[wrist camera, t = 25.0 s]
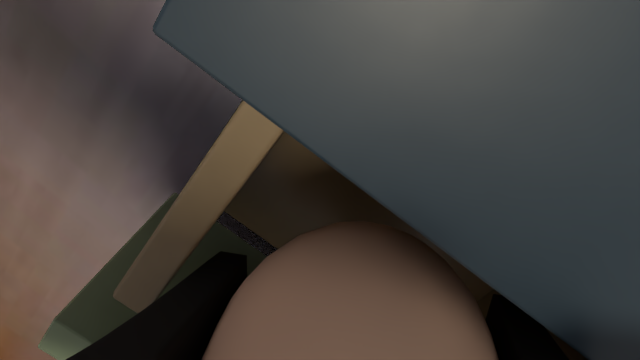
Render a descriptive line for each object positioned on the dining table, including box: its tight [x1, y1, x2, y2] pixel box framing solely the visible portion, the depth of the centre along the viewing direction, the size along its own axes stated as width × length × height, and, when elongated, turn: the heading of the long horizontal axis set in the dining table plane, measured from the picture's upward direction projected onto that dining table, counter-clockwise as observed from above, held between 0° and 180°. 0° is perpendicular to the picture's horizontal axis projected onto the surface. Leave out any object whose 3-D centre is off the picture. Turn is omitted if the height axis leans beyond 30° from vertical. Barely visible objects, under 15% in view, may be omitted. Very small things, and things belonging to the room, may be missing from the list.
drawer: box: [38, 101, 588, 360], centre depth 12 cm, size 17×10×6 cm, turn 144°
